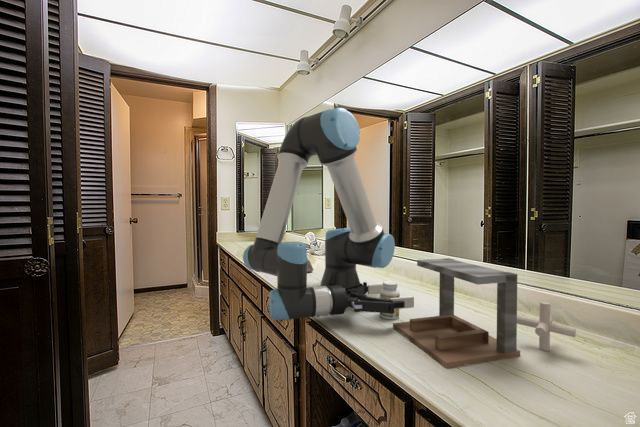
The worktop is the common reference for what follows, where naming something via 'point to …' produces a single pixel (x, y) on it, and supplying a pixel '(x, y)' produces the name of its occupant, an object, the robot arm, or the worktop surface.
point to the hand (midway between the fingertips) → (399, 294)
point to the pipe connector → (545, 326)
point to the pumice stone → (309, 266)
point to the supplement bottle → (387, 293)
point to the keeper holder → (457, 334)
